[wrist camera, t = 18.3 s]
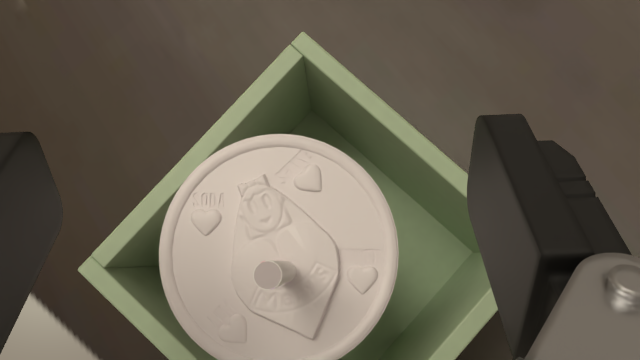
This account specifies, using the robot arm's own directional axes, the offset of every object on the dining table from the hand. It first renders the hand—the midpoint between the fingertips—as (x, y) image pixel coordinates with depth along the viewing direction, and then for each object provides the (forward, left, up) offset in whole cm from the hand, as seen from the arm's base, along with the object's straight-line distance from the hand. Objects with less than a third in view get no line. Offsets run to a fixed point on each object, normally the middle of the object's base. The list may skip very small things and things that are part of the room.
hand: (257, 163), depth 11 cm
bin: (0, -2, -15) cm, 15 cm away
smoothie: (-1, -1, -15) cm, 15 cm away
